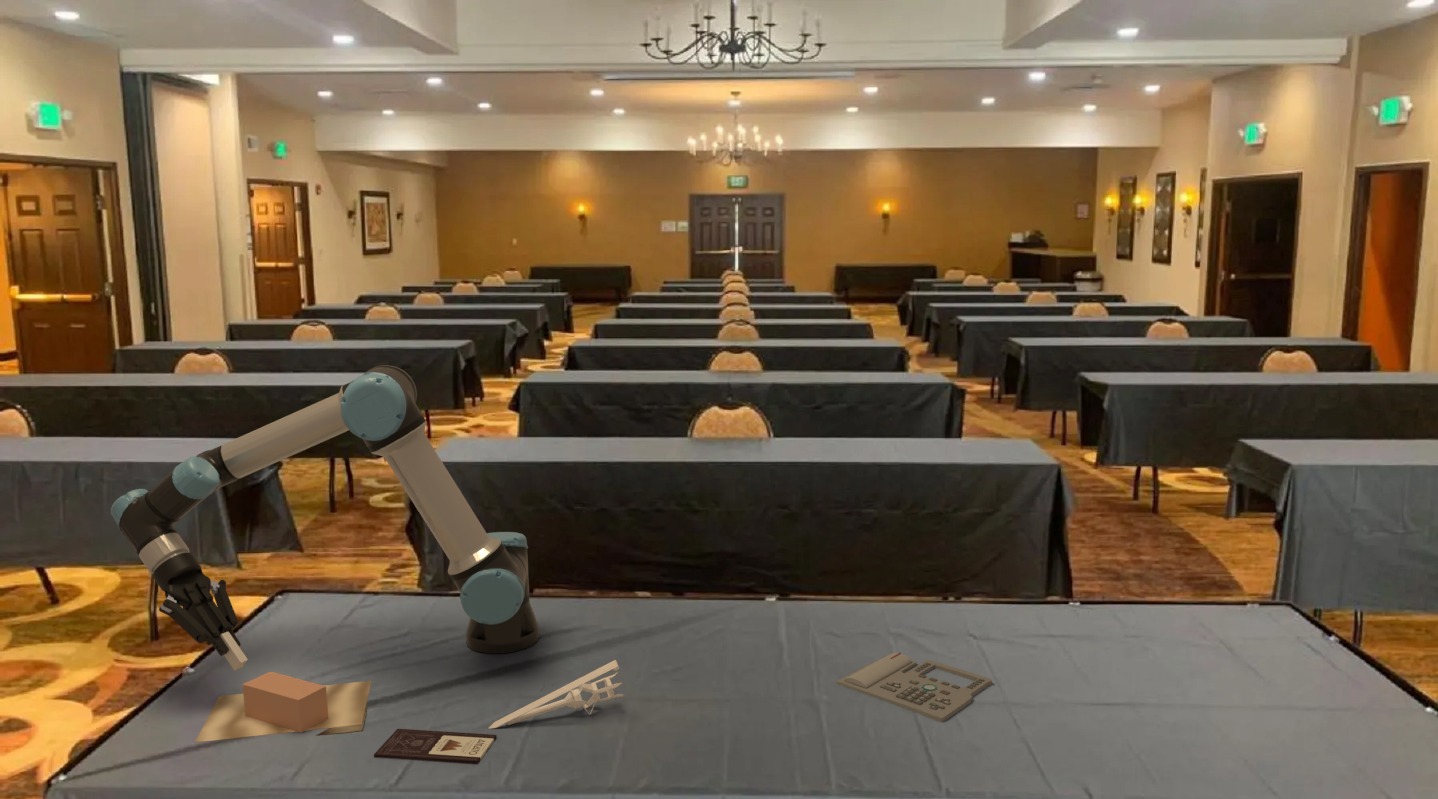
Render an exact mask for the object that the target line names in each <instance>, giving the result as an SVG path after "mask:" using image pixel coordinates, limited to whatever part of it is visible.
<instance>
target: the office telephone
mask: <svg viewBox="0 0 1438 799" xmlns="http://www.w3.org/2000/svg"><path fill="white" fill-rule="evenodd" d="M934 669H936V670H940V671H942V672H946V673H949V674H952V675H955V676H958V677H962V678H965V679H968V680H971V681H973V682H971V683H970V684H969V683H968V685H967V686H964V687H963V686H959V685H956V684H952V683H950V682H947V681H943V680H939V679H937V678H934V677H930V676H927V675H925V674H927V673H928V672H930V671H931V670H934ZM836 684H837V685H838V686H842V687H845V688H847V689H850V690H853V691H855V692H858V693H861V694H864V695H866V696H869V697H872V698H875V699H878V700H881V701H883V702H886V703H888V704H892V705H893V706H894V705H895V706H897V707H900V708H903V709H906V710H907V711H911V712H914V713H916V714H918V715H921V716H923V717H925V718H928V719H932V720H934V721H936V722H940V723H943V722H945V721H947V720H948V719H949V718H951V717H953V716H954V715H956V714H957V713H958V712H959V711H961V710H962V709H964V708H965V707H967V706H968V705H969V704H970V703H972V701H973V697H974V696H976V695H977V694H978V693H979V692H982V691H983V690H984V689H987V688H988V687H989V686H992V685H993V680H992V678H990V677H986V676H983V675H980V674H976V673H974V672H970V671H967V670H964V669H960V668H957V667H955V666H952V665H948V664H944V663H941V662H937V661H935V660H930V659H926V660H925V661H923V662H921V663H920V664H918V665H917V661H916V660H913V659H911V658H910V657H909V656H907V655H906V654H902V653H901V652H899V653H898V652H891V653H889V654H887V655H885V656H883V657H881V658H879V659H877V660H875V661H874V662H871V663H869V664H866V665H865V666H863V667H861V668H859V669H857V670H855V671H853V672H851V673H849V674H848V675H845V676H843V677H842V678H839V679H838V680H836Z"/></svg>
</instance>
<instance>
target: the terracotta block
mask: <svg viewBox="0 0 1438 799" xmlns="http://www.w3.org/2000/svg"><path fill="white" fill-rule="evenodd" d="M241 685H242V694H243V695H244V706H245V716H247V717H251V718H254V719H257V720H260V721H264V722H267V723H270V724H274V725H277V726H280V727H284V728H287V729H290V730H294V731H297V732H298V733H304V732H306V731H305V730H307V729H309V728H311V727H313V726H315V725H317V724H318V723H320V722H322V721H324V720H326V719H328V706H327V694H326V686H324V685H322V684H319V683H315V682H312V681H307V680H304V679H300V678H296V677H293V676H290V675H285V674H282V673H278V672H274V671H268V672H266V673H264V674H262V675H259V676H258V677H255V678H253V679H251V680H248V681H247V682H245V683H242V684H241ZM307 731H308V730H307Z"/></svg>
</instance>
